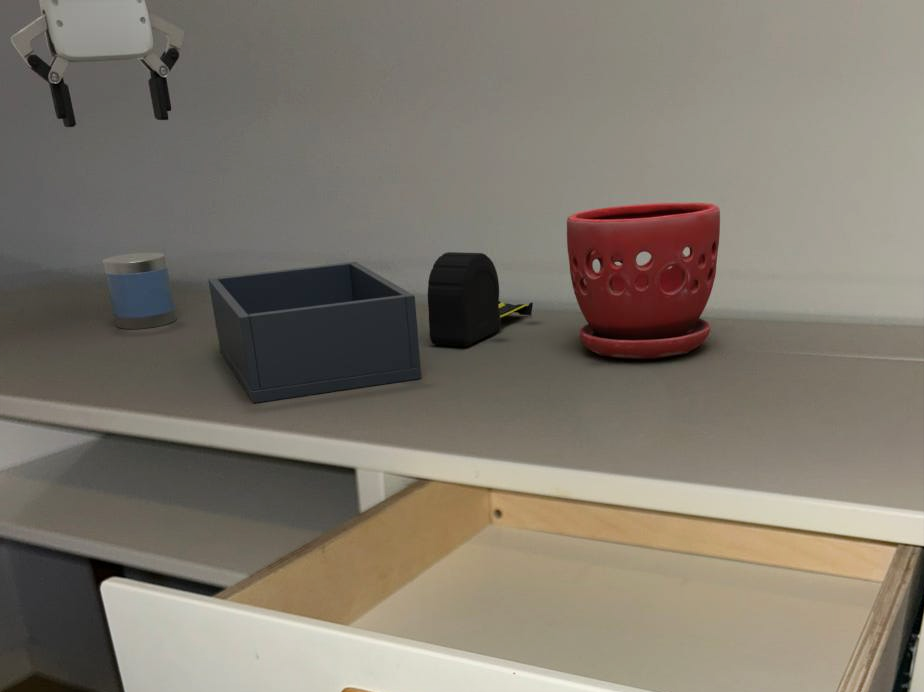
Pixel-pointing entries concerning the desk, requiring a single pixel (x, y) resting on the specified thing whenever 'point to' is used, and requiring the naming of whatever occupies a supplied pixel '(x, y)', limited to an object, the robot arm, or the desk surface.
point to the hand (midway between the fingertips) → (116, 123)
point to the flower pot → (644, 277)
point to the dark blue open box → (315, 330)
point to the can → (139, 290)
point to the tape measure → (466, 299)
